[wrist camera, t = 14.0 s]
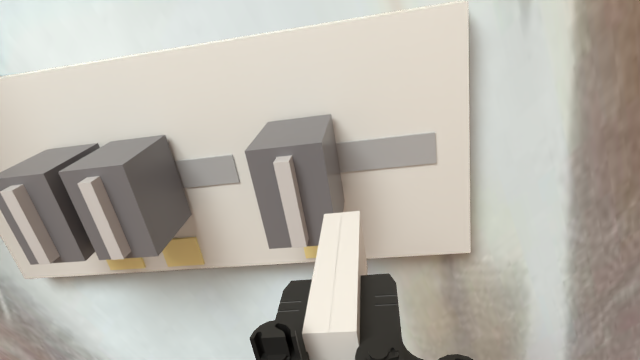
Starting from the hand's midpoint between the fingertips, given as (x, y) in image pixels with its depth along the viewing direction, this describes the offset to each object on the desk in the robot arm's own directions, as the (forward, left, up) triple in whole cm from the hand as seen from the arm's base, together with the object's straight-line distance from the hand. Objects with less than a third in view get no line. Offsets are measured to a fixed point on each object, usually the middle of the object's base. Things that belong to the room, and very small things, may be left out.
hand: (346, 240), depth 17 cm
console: (-11, 0, -12) cm, 16 cm away
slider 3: (-3, 0, -9) cm, 10 cm away
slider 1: (-19, 0, -9) cm, 21 cm away
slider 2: (-14, 0, -9) cm, 17 cm away
